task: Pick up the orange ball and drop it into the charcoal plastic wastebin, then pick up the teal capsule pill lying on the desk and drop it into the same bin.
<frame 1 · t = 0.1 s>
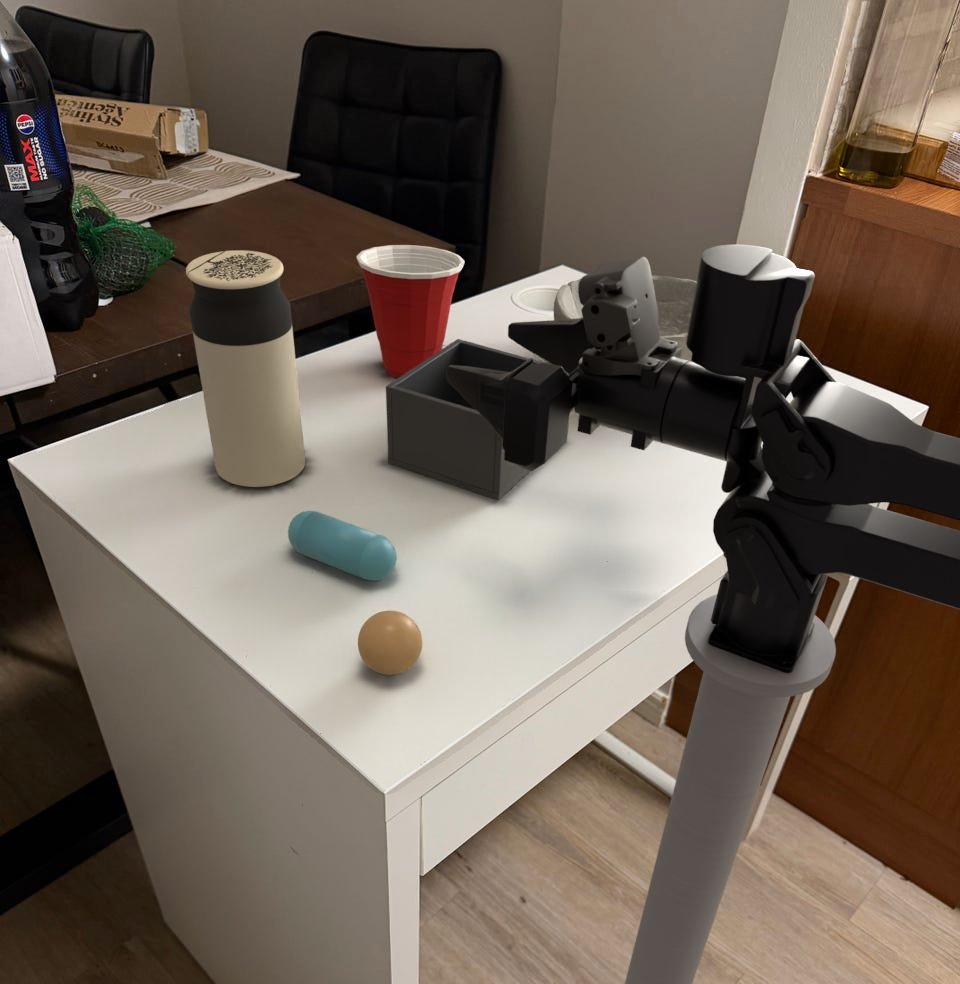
hand: (479, 350, 71), 15 cm above the table, tool horizontal, fingers open, 9 cm apart
wastebin: (476, 452, 89), on the table
plastic cup: (412, 369, 103), on the table
orange ball: (391, 666, 66), on the table
bowl: (629, 371, 104), on the table
teal capsule pill: (343, 563, 75), on the table
travel mug: (261, 469, 86), on the table
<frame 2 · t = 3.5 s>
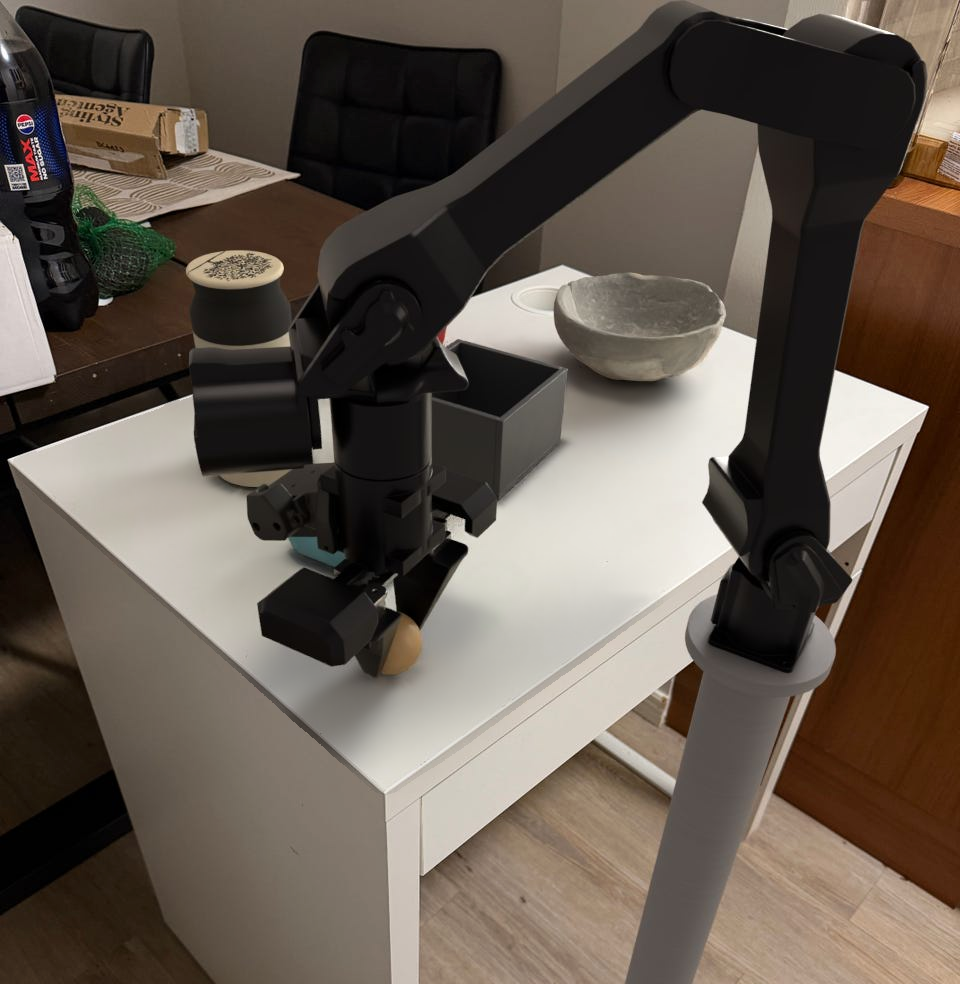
hand: (390, 655, 66), 1 cm above the table, tool pointing down, fingers closed on orange ball, 4 cm apart
orange ball: (390, 666, 66), on the table, touching gripper
everything else where it was.
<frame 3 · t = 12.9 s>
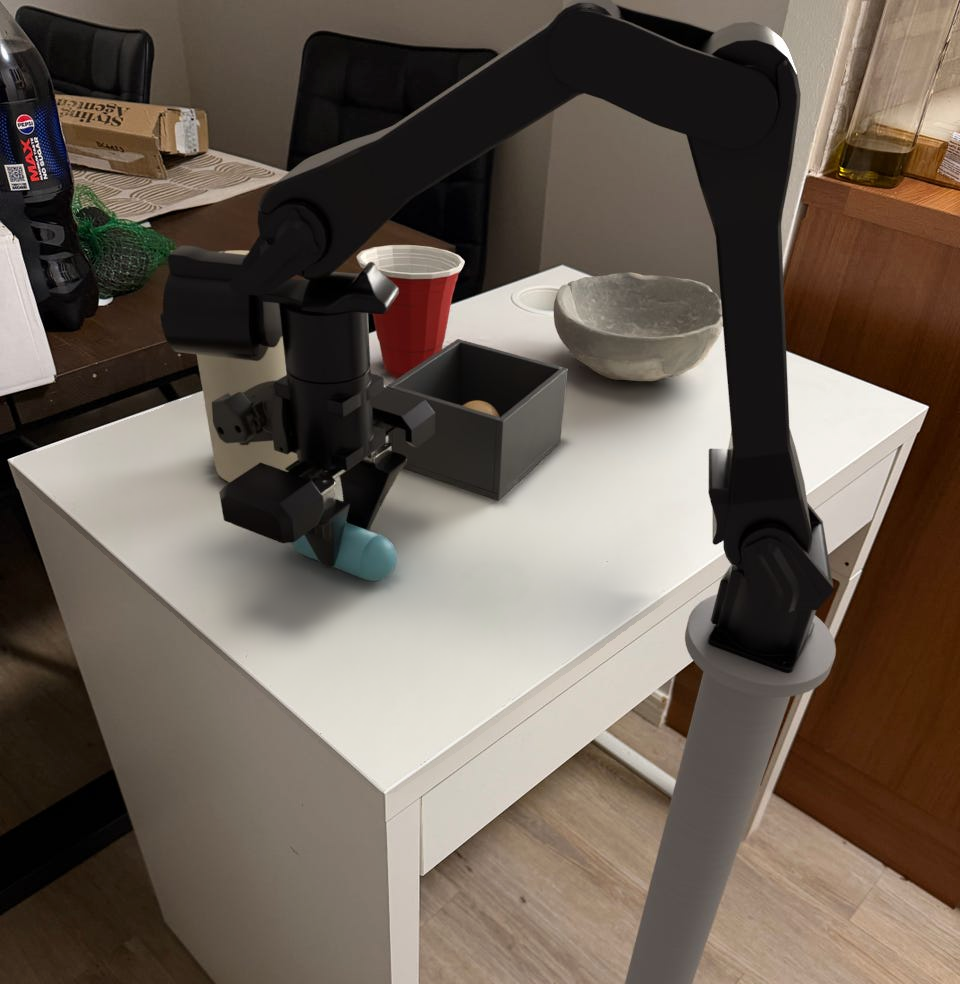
hand: (342, 553, 75), 1 cm above the table, tool pointing down, fingers closed on teal capsule pill, 3 cm apart
orange ball: (475, 447, 89), point 1 cm above the table, touching wastebin
teal capsule pill: (343, 563, 75), on the table, touching gripper
everything else where it was.
when the fingers open (7 cm above the table, at t = 17.3 s): teal capsule pill drops 2 cm and tips over, resting on wastebin.
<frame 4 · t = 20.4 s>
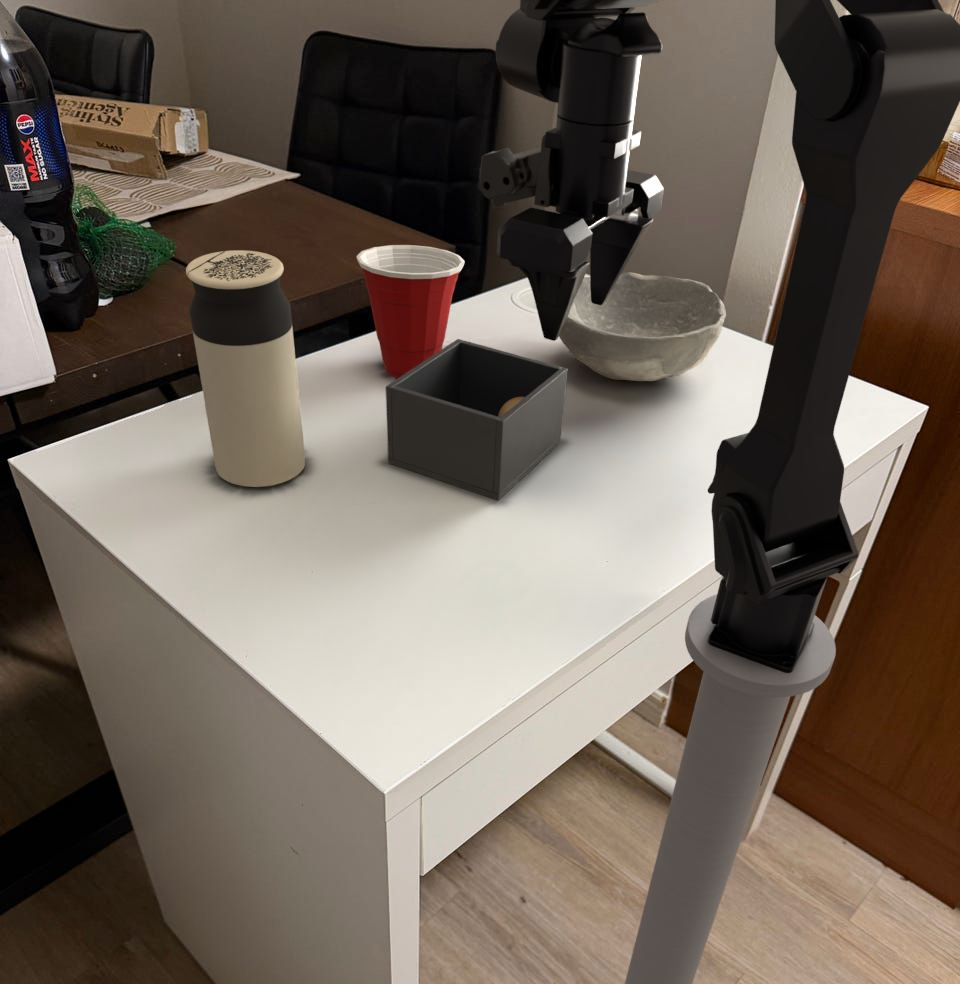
hand: (574, 320, 81), 13 cm above the table, tool pointing down, fingers open, 9 cm apart
orange ball: (502, 418, 87), point 4 cm above the table, tilted 111°, touching wastebin
teal capsule pill: (462, 421, 85), point 4 cm above the table, tilted 178°, touching wastebin
everything else where it was.
at the end: orange ball inside the target area in the wastebin (2.3 cm from its centre), point 3.6 cm above the wastebin's base; teal capsule pill inside the target area in the wastebin (2.0 cm from its centre), point 4.2 cm above the wastebin's base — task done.
